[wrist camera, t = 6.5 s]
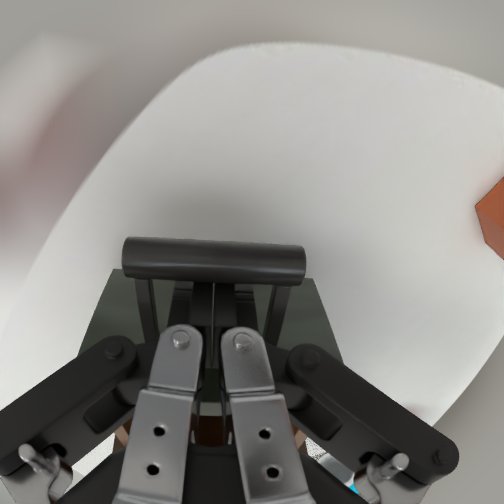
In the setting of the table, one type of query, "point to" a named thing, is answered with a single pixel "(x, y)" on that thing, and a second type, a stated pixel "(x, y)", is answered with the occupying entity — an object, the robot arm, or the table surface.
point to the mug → (338, 470)
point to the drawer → (212, 271)
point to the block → (493, 218)
